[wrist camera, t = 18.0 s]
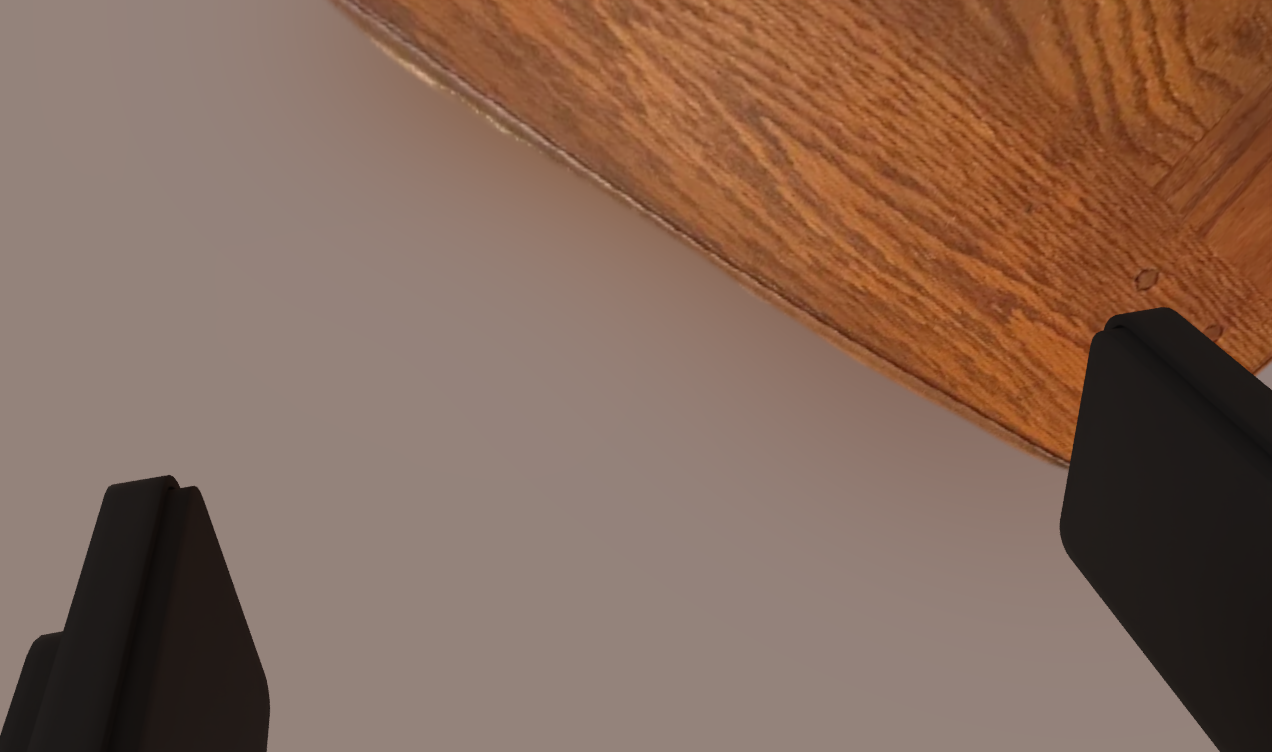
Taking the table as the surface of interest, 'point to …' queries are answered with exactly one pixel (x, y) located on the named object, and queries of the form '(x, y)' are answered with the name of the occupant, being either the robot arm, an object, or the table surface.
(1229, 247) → the table surface
